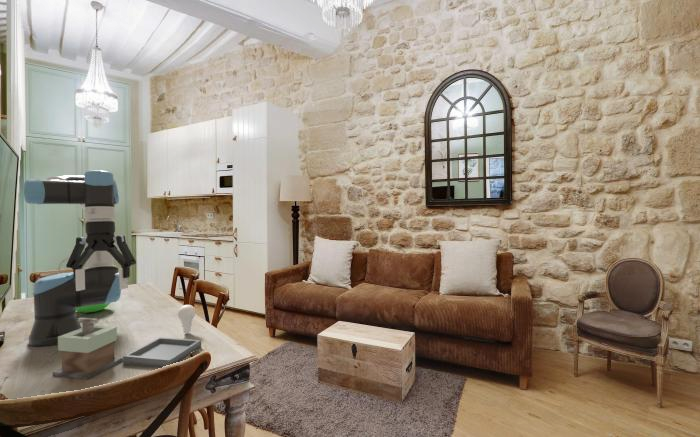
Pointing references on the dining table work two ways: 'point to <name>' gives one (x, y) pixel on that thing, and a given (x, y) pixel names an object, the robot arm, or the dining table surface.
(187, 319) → the lightbulb
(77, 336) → the collar
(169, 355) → the tray
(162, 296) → the dining table surface
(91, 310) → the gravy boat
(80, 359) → the stake block
